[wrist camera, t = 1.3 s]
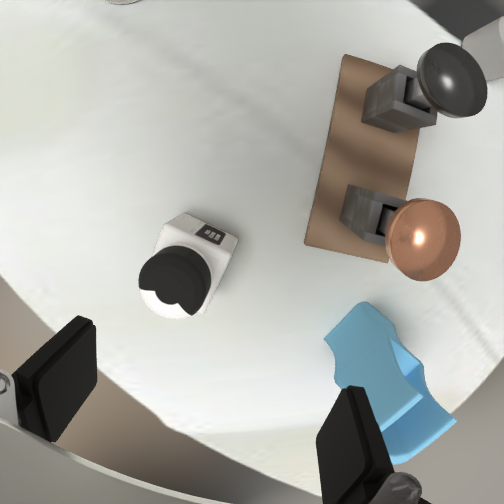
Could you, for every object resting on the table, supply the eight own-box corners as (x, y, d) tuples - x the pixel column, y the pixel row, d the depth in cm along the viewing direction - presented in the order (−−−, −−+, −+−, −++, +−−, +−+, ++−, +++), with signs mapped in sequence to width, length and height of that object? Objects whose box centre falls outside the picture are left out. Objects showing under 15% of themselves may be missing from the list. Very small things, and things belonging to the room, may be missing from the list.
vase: (397, 327, 42) (458, 420, 22) (360, 364, 43) (398, 467, 24) (362, 298, 41) (420, 393, 21) (323, 338, 42) (351, 447, 23)
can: (461, 74, 31) (512, 55, 20) (455, 30, 29) (500, 3, 18) (498, 87, 31) (549, 76, 19) (492, 45, 29) (539, 26, 17)
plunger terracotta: (356, 180, 30) (405, 190, 18) (405, 194, 30) (469, 212, 18) (343, 234, 31) (382, 273, 20) (391, 245, 31) (446, 287, 20)
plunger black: (377, 71, 27) (428, 30, 15) (424, 88, 27) (488, 62, 15) (369, 119, 28) (422, 98, 17) (417, 136, 28) (484, 128, 17)
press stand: (342, 57, 32) (369, 19, 21) (421, 85, 32) (469, 63, 21) (303, 242, 39) (317, 274, 27) (383, 259, 39) (422, 295, 27)
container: (183, 211, 39) (144, 234, 26) (239, 237, 39) (225, 272, 27) (161, 264, 41) (120, 306, 28) (215, 290, 41) (193, 341, 29)
